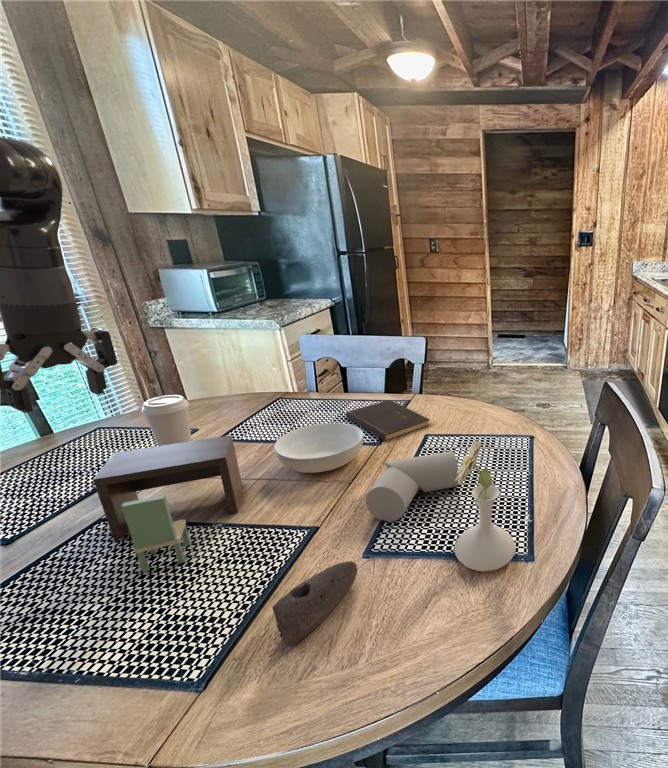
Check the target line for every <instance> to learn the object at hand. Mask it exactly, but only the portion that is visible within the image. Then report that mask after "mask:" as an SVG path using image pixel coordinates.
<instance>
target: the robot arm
mask: <svg viewBox="0 0 668 768" xmlns="http://www.w3.org/2000/svg"><path fill="white" fill-rule="evenodd" d="M62 207H63V184H62V179H61V176H60V173H59V171H58V169H57V167H56V165H55V164H54V163H53V161H52V159H51V158H50V157H49V156H48V155H47V154H46V153H45V152H44V151H43V150H41V149H40V148H38V147H37V146H35V145H33V144H31V143H29V142H26V141H23V140H19V139H14V138H7V137H0V319H1V322H2V325H3V329H4V332H5V334H6V340H5V341H4V343H0V390H5V393H6V396H7V399H8V403H9V406H10V407H11V408H12V409H14V410H17V411H19V412H21V413H23V414H27V413H31V412H33V411H34V410H33V406H32V402H31V399H30V394H29V391H28V388H26V387H25V386H26V385H27V384H28V382H29V380H30V379H31V378H32V377H35V376H36V374H38V372H39V370H40V368H41V369H51V368H53V367H56V366H59V365H61V366H62V365H63V366H64V365H70V364H72V363H73V362H74V361H75V362H77V363H79V364H80V365H81V366H83V367H84V368H86V369H87V370H84V371H85V375H86V380H87V384H88V385H87V386H88V389H89V391H90V393H92V394H95V395H103V394H104V393H105V392H104V391H105V390H107V382H106V377H105V373H104V372H105V370H106V369H107V368H109V367H111V366H112V367H114V366H117V364H118V359H117V356H116V351H115V348H114V345H113V341H112V337H111V334H110V332H109V331H107V330H105V329H102V328H98V327H92V328H91V329H90V330H87V331H83V330H82V320H81V316H80V311H79V308H78V303H77V299H76V294H75V289H74V286H73V281H72V278H71V276H70V273H69V270H68V268H67V265H66V261H65V256H64V252H63V247H62V243H61V239H60V235H59V232H60V226H61V221H62ZM88 341H89V343H91V344H93V346H94V350H95V352H96V356H97V359H95V358H94V357H93V356H91V355H90V354H88V353H87V352H85V351H84V350H83V349H84V347H85V345H86V343H87V342H88ZM7 353H10V354H12V355H13V356H15V357H14V359H13V360H12V361H11V363H10V364H9V366H8V371H7V372H6V374H5V375H4V373H3V369H2V364H1V361H3V360H5V357H6V354H7Z"/></svg>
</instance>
